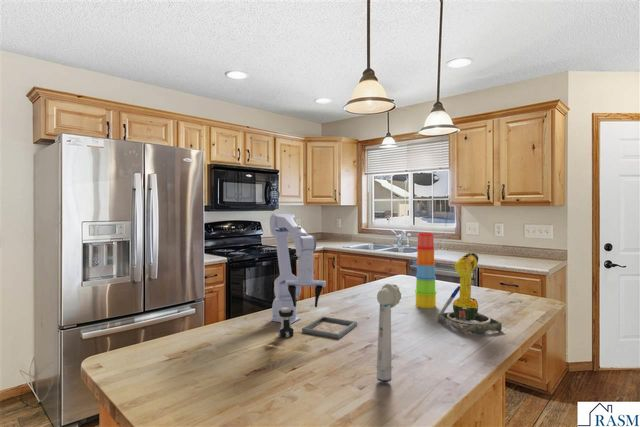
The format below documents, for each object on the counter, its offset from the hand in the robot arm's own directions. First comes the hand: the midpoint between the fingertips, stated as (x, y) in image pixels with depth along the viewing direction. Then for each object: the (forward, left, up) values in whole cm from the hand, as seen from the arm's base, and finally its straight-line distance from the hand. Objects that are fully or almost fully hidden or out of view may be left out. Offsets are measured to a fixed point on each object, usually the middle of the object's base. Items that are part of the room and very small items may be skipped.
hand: (305, 306), depth 130 cm
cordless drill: (+52, +39, -11) cm, 65 cm away
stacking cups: (+31, +58, -10) cm, 67 cm away
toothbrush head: (+36, -19, -10) cm, 42 cm away
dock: (+5, +10, -10) cm, 15 cm away
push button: (-6, -5, -10) cm, 13 cm away
